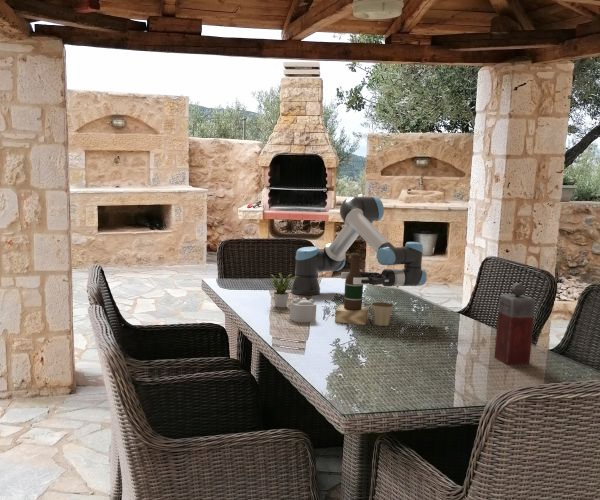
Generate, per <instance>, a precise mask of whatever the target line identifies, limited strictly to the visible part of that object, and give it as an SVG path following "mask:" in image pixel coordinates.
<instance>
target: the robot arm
mask: <svg viewBox="0 0 600 500" xmlns="http://www.w3.org/2000/svg"><path fill="white" fill-rule="evenodd" d="M384 209H385V208H384V204H383V201H382V200H381V198H379V197H376V196H349V197H347V198H345V199H344V200H343V201H342V203H341V204H340V207H339V215H340V217H341V219H342V220H343V223H345V224H344V226H343V227H342V228H341V230H340V231H339V232H338V234H337V235H336V237H334V239H333V240H332V242H329V243H327V244H326V245H325V246H324V248H323V249H319V247H318V246H304V247H303V246H302V247H300V248H298V249H297V250H296V253H295V267H294V269H295V270H294V272H295V273H294V278H293V282H292V283H291V286H293V287H290V288H291V289H290V293H292V294H295V295H300V296H301V295H302V296H315V295H319V294H321V286H320V283H319V280H318V274H319V273H320V272H326V273H327V272H337V271H340V270H342V269H343V268H344V266H345V264H346V259H347V257H346V252H348V250H349V248H350V247H351V246H352V245H353V243H354V242H355V241H356V239H357V238H358V237H359V236H360V237H361V238H362V239H363V240H364V241H365V243H366V244H367V245H368V246H369V247H370V248H371V249H372V251H374V252H375V253H376V260H377V262H378V263H379V265H382V266H395V265H396V266H397V265H398V266H399V265H403V268H393V269H391V268H389V269H387V268H385V269H383V270H382V271H381V273H379V272H373V271H372V272H369V271H360V274H361V275H362V278H353V284H363V285H372V286H379V285H382V286H383V287H396V288H399V287H420V286H424V285H425V284H426V282H427V272H426V271H425V269H423V268H422V261H423V251H424V249H423V244H422V242H417V241H407V242H406V243H405V246H400V247H397V246H394V245H393V244H392V242H390V241H389V240H388V239H387V238H386V237H385V236H384V234H383V233H381V232H380V231H379V229H378V228H376V226H375V225H374V224H373V223H374V222H378V221H381V220H382V219H383V217H384V213H385V210H384ZM349 272H350V271H348V272H347V271H346V272H345V271H343V272H342V271H341V274H340V278H341V279H342V280H346V277H347V275H348V274H349ZM296 276H298V277H296ZM292 289H293V290H292Z"/></svg>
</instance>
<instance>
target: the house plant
mask: <svg viewBox="0 0 600 500" xmlns="http://www.w3.org/2000/svg"><path fill="white" fill-rule="evenodd" d="M271 276H272V277H271ZM271 276H270V278H271V279H272V283H273V284H271V283H270V284H269V285H270V286H273V289H274V290H275V292H273V299H274V305H275V307H276V308H286V307H287V306H288V301H289V295H290V293H289V292H286V291H287V290H291V287H293V286H292V285H291V282H290V281H292V279H295V276H293V277H291V276H292V273H290V274H288V275H287V276H286V278H285V279H284V278H283V277H284V276H283V274H282V273H281V272H279V273H278V276H279V278H280V279H279V280H278V279H277V278H276V276H274V275H273V274H271ZM296 277H298V276H296ZM292 290H293V289H292Z"/></svg>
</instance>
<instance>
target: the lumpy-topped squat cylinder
mask: <svg viewBox="0 0 600 500" xmlns="http://www.w3.org/2000/svg"><path fill="white" fill-rule="evenodd" d="M289 303H290V304H289V305H290V306H289V319H290V320H291V321H293V322H295V323H314V322H316V319H317V303H316V302H315V300H314V299H313V298H310V299H307V298H306V297H302V298H300V297H296V298H294V299H292V300H291V301H290V302H289Z"/></svg>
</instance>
